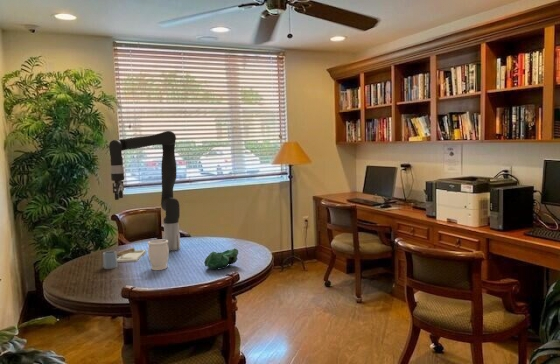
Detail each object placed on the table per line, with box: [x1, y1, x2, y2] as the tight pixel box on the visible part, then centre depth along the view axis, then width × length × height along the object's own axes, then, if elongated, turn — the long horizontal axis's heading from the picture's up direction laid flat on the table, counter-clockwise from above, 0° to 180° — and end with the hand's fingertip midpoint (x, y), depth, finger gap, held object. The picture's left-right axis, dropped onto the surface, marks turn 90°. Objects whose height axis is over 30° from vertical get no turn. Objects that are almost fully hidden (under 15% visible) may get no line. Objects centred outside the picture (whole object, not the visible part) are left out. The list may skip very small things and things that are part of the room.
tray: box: [117, 249, 147, 263], centre depth 255 cm, size 12×22×2 cm, turn 5°
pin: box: [117, 247, 136, 257], centre depth 254 cm, size 6×2×16 cm
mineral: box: [204, 247, 239, 270], centre depth 231 cm, size 18×16×10 cm
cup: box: [102, 250, 118, 270], centre depth 234 cm, size 7×7×9 cm
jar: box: [147, 238, 170, 271], centre depth 232 cm, size 11×10×15 cm
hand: (119, 198), depth 264 cm, fingers open, 8 cm apart
